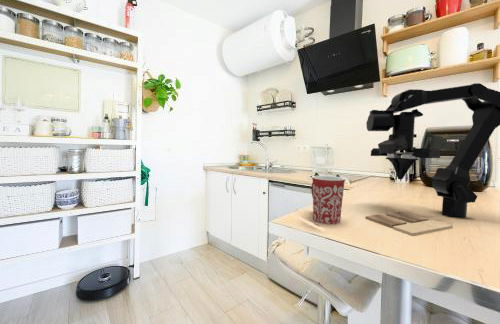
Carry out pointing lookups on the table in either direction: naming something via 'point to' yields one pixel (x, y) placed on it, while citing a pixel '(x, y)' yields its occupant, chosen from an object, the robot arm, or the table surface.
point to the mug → (327, 198)
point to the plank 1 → (385, 220)
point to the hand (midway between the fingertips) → (400, 179)
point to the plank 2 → (406, 217)
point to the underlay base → (422, 227)
